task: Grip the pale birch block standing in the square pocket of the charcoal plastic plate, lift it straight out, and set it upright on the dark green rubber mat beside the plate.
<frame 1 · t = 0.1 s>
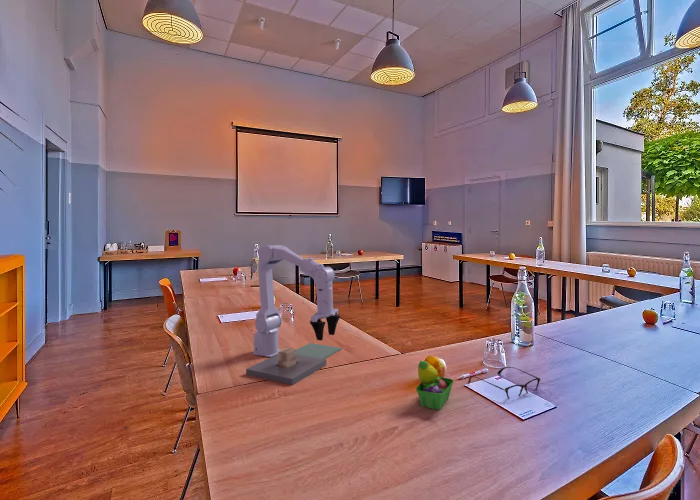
hand: (325, 337, 136), 10 cm above the table, tool pointing down, fingers open, 7 cm apart
pocket plate: (287, 369, 132), on the table
eyeglasses: (502, 387, 115), on the table
fruit basket: (433, 401, 105), on the table
rubber mat: (314, 352, 150), on the table
birch block: (287, 360, 132), in the pocket plate
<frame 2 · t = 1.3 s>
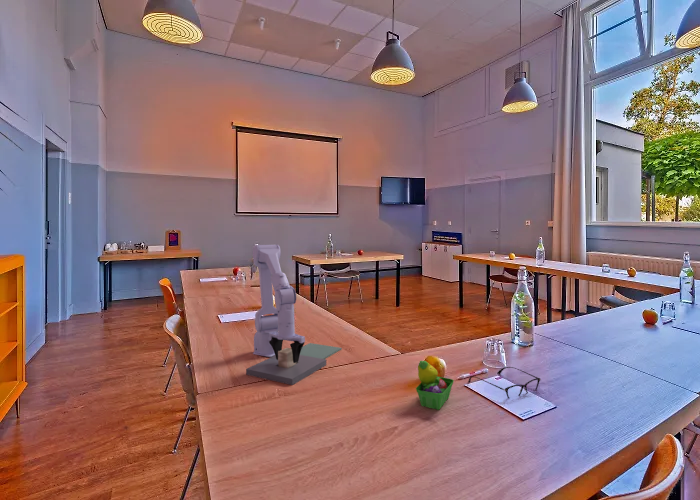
hand: (287, 360, 132), 3 cm above the table, tool pointing down, fingers open, 7 cm apart
nothing on the table moved.
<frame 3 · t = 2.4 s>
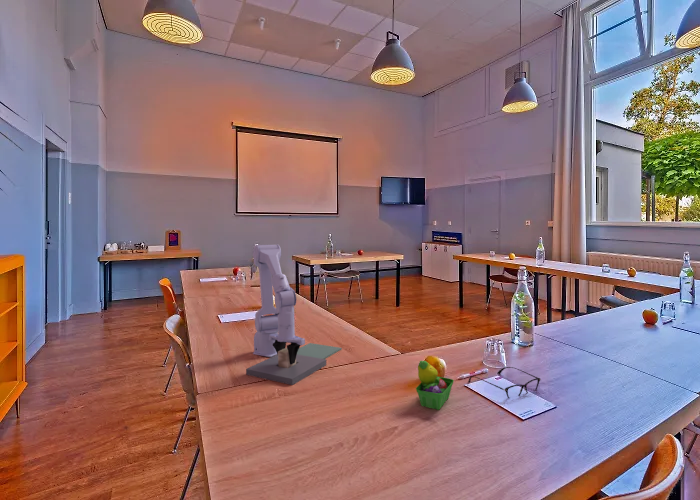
hand: (287, 362, 132), 3 cm above the table, tool pointing down, fingers closed on birch block, 4 cm apart
birch block: (287, 359, 132), in the pocket plate, touching gripper
everything else where it was.
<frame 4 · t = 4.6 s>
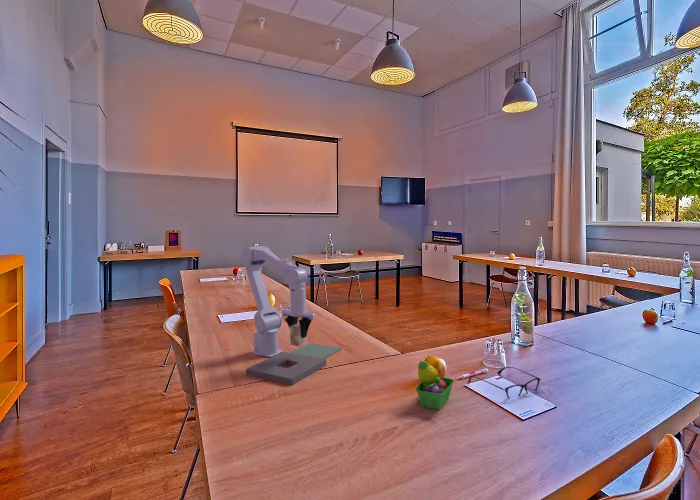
hand: (299, 336, 139), 10 cm above the table, tool pointing down, fingers closed on birch block, 4 cm apart
birch block: (298, 334, 139), point 10 cm above the table, touching gripper
everything else where it was.
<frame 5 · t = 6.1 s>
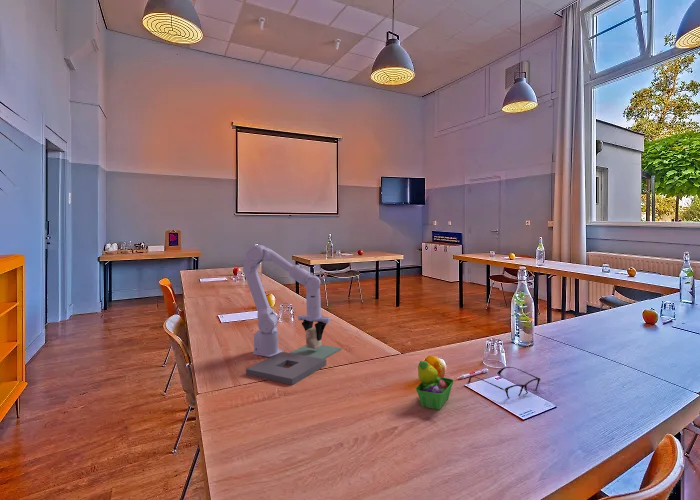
hand: (314, 339, 150), 5 cm above the table, tool pointing down, fingers closed on birch block, 4 cm apart
birch block: (313, 337, 149), point 6 cm above the table, touching gripper
everything else where it was.
when the fingers open (4 cm above the table, at t = 7.1 s): birch block stays where it is, resting on rubber mat.
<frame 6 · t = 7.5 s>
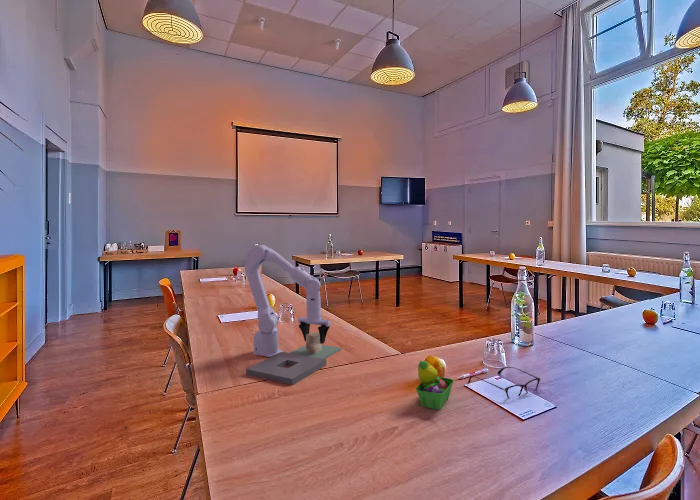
hand: (314, 342, 150), 4 cm above the table, tool pointing down, fingers open, 7 cm apart
birch block: (313, 342, 150), on the rubber mat, point 4 cm above the table
everything else where it was.
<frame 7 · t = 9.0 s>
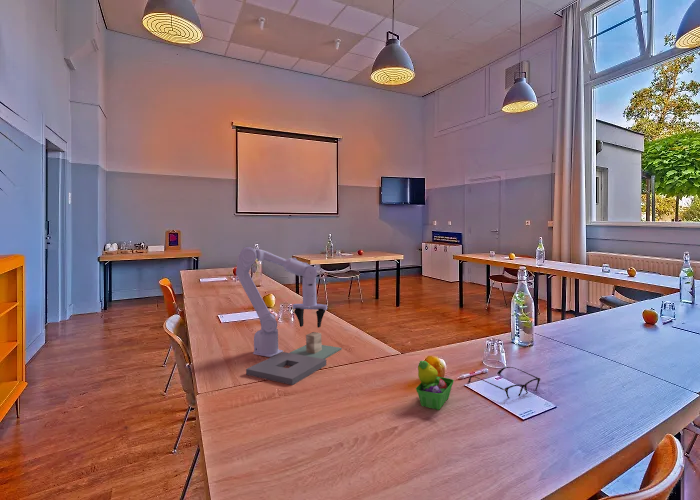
hand: (310, 326, 154), 9 cm above the table, tool pointing down, fingers open, 7 cm apart
nothing on the table moved.
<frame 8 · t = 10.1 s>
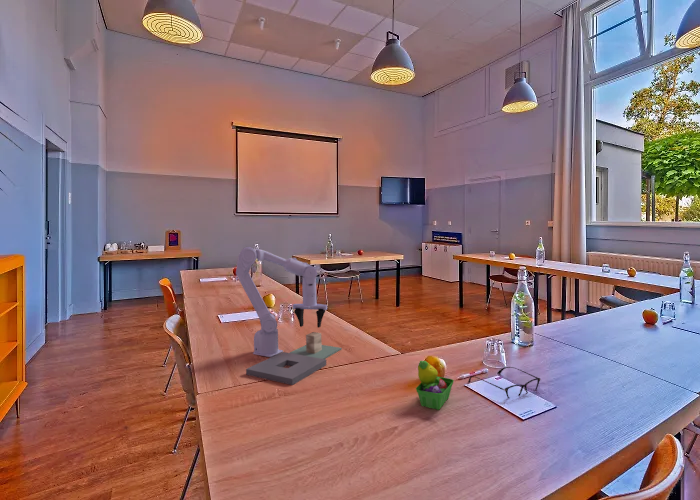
hand: (310, 326, 154), 9 cm above the table, tool pointing down, fingers open, 7 cm apart
nothing on the table moved.
at the end: birch block inside the target area on the rubber mat (0.4 cm from its centre), point 4.1 cm above the rubber mat's base; birch block tilted 0°; the gripper is holding nothing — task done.
